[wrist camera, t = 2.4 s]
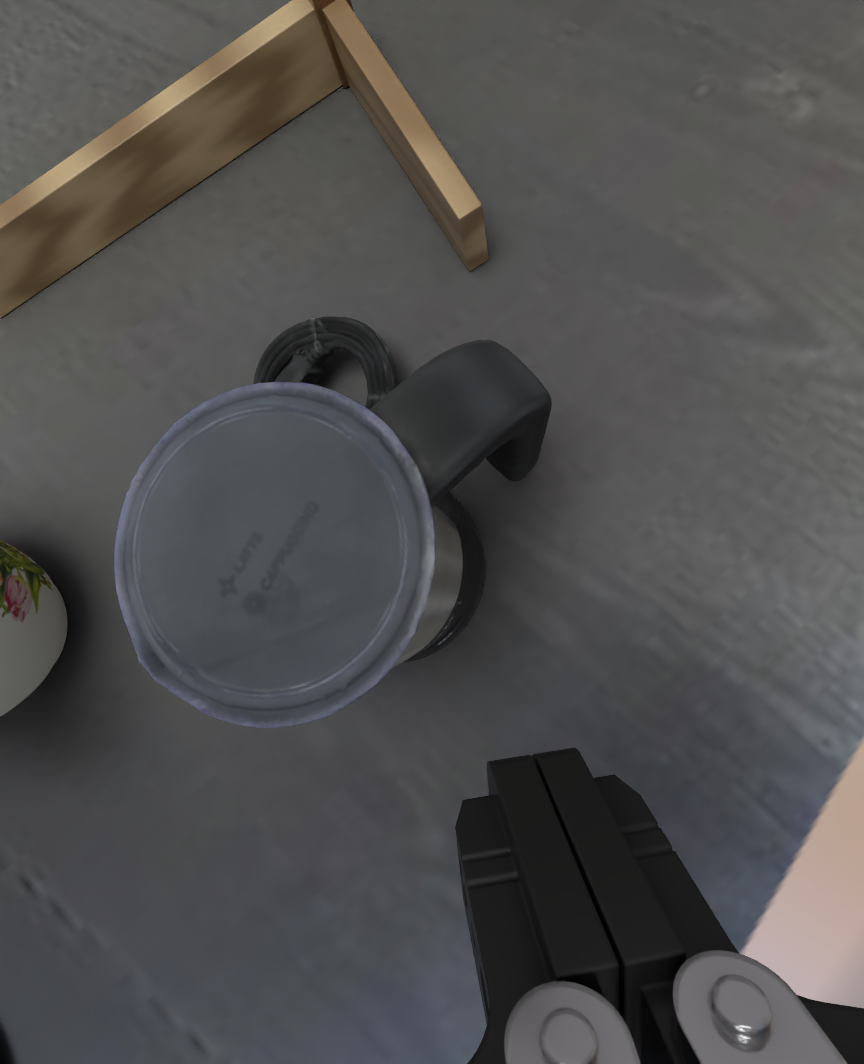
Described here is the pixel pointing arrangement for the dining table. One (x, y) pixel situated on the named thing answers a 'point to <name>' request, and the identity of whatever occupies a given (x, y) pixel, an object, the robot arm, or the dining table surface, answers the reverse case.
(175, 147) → the corner rail
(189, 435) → the milk frother
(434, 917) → the dining table surface
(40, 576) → the pitcher
